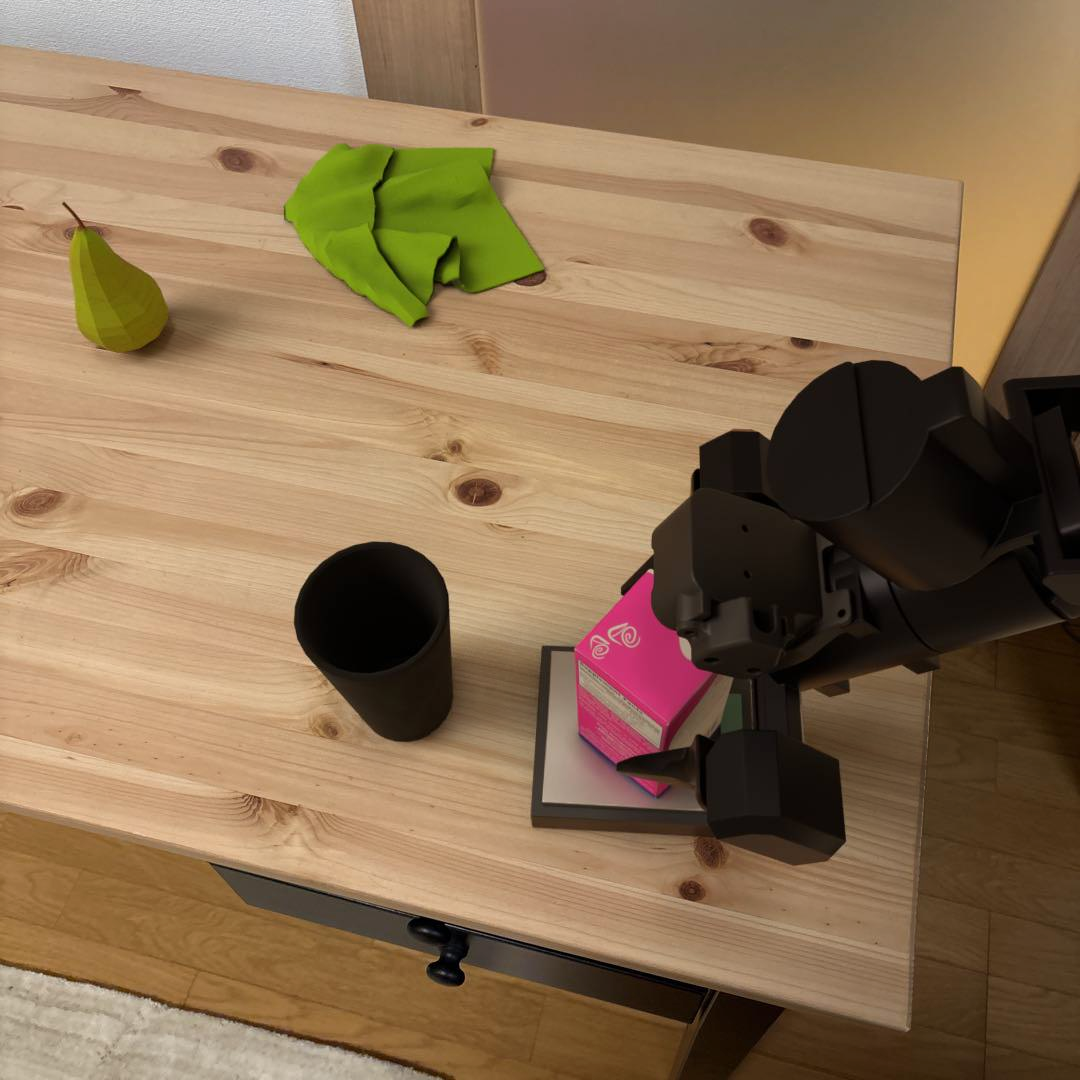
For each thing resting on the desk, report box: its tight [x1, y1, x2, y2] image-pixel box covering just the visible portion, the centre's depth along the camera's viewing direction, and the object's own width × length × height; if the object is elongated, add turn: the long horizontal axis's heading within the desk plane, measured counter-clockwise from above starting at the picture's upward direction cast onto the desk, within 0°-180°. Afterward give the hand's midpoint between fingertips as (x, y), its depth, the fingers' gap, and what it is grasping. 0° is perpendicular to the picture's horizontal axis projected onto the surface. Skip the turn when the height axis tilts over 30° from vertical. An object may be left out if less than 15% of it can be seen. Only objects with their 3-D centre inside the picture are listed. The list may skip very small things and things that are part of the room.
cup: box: [293, 541, 454, 743], centre depth 54 cm, size 8×8×12 cm
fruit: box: [61, 201, 170, 354], centre depth 70 cm, size 6×6×12 cm
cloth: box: [283, 142, 545, 328], centre depth 78 cm, size 20×22×2 cm
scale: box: [530, 644, 753, 838], centre depth 56 cm, size 12×10×3 cm
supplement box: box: [574, 569, 733, 799], centre depth 50 cm, size 6×6×11 cm
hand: (624, 678), depth 49 cm, fingers open, 9 cm apart
